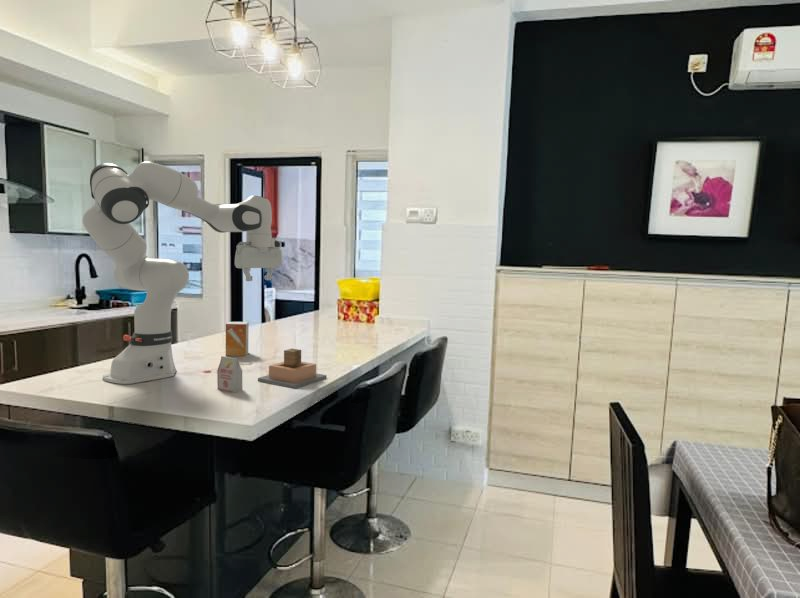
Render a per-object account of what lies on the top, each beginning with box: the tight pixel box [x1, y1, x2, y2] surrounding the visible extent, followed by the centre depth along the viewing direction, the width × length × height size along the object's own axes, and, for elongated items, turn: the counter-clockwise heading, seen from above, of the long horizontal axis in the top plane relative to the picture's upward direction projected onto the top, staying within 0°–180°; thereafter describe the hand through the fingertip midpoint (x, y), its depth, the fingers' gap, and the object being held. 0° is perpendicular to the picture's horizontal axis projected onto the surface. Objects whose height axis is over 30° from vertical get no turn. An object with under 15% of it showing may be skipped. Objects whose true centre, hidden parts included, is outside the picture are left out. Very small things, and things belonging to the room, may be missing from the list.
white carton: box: [216, 355, 243, 394], centre depth 160 cm, size 4×7×10 cm, turn 60°
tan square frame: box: [257, 361, 327, 389], centre depth 174 cm, size 16×16×5 cm
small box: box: [225, 321, 250, 357], centre depth 211 cm, size 8×6×13 cm
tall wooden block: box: [283, 348, 302, 368], centre depth 174 cm, size 4×4×9 cm
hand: (258, 280), depth 189 cm, fingers open, 8 cm apart
